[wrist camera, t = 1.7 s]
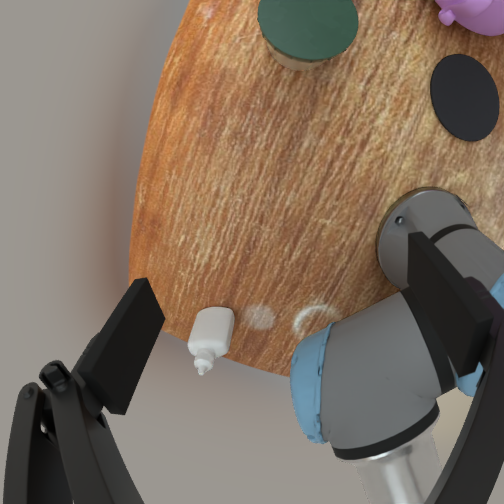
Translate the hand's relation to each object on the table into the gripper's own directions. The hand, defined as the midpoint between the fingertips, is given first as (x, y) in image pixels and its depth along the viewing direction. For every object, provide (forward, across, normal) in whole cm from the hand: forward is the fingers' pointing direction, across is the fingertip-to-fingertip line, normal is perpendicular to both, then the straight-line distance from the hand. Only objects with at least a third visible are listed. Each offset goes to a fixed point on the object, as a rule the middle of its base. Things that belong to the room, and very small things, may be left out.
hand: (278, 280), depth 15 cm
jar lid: (+14, +6, +15) cm, 21 cm away
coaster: (+24, +27, +7) cm, 37 cm away
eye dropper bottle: (+24, -13, -20) cm, 34 cm away
